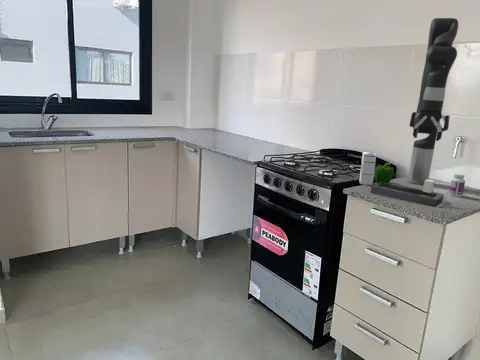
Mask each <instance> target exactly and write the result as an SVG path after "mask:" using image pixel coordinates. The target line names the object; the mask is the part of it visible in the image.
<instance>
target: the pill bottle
mask: <svg viewBox="0 0 480 360" xmlns="http://www.w3.org/2000/svg"><path fill="white" fill-rule="evenodd" d="M464 178H465V174H463V173H457V172H455V173H454V174H453V177H452V178H451V181H450V185H449V191H448V195H449V196H451V197H456V198H461V197H463V195H464V190H465V184H466V180H465V179H464Z"/></svg>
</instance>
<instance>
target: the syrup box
mask: <svg viewBox="0 0 480 360" xmlns="http://www.w3.org/2000/svg"><path fill="white" fill-rule="evenodd" d="M376 162H377V154H376V153H375V152H370V151H362V156H361V165H360V170H359V171H360V172H359V180H358V181H359V184H360V185H364V186H365V185H366V186H373V185H374V179H375V168H376Z"/></svg>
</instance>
